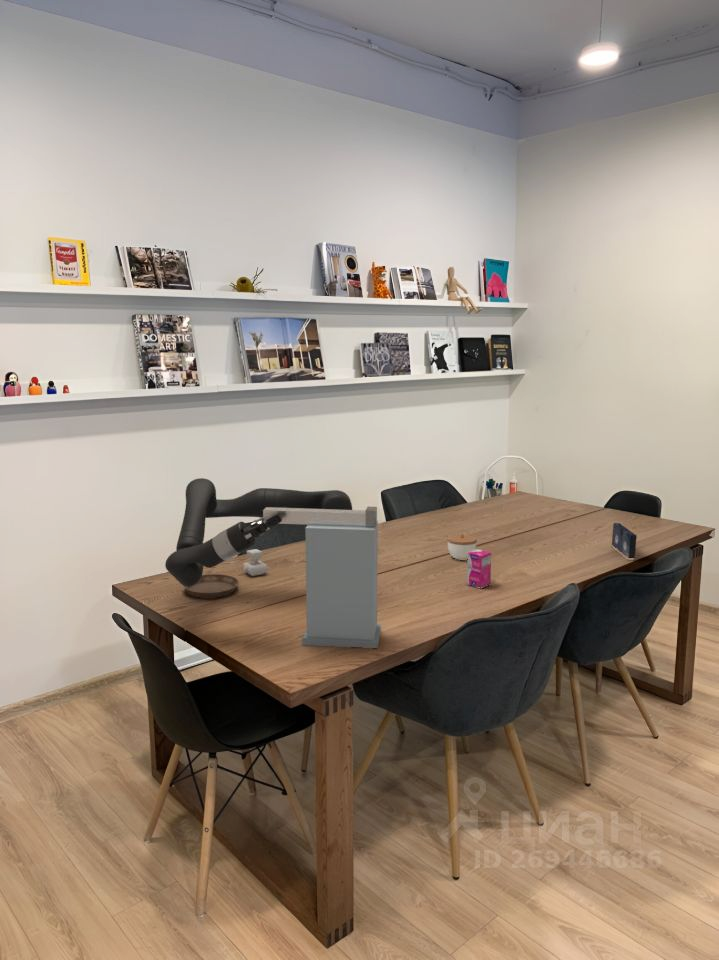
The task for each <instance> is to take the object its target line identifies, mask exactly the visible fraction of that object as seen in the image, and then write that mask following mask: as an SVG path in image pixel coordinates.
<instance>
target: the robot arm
mask: <svg viewBox="0 0 719 960" xmlns="http://www.w3.org/2000/svg"><path fill="white" fill-rule="evenodd" d="M266 507H274V508H304V509H334V510H353V505H352V501H351V498H350V496H349V495H348V494H347V493H346V492H344V491H342V490H339V489H334V490H318V491H317V490H315V491H304V490H296V489H283V488H270V487H269V488H268V487H267V488H266V487H264V488H263V487H262V488H255V489H253V490H251V491H249V492H247V493H245V494H242V495H240V496H238V497H235V498H229V499H217V490H216V486H215V484H214V483H213V482H212V481H211V480H210V479H207V478H202V477H201V478H194V479H192V480H191V481H190V482H189V483H188V484H187V486H186V487H185V509H184V515H183V519H182V524H181V527H180V532H179V535H178V539H177V543H176V546H175V547H176V548H175V549H176V550H175V551H174V552H172V553H170V555H168V557H167V558H166V560H165V566H164V567H165V569H166V571H167V572H168V573H169V574H170V575H171V576H172V577H173V579H174V578H175V580H176V581H177V582H178V583H179V584H180V585H182V586H183V587H184V586H186V587H190V586H193V585H195V584H196V583H197V582H198V581H199V580H200V578H201V576H202V575H203V572H204V567H205V568H208V569H211V568H214V567H216V566H218V565H220V564H221V563H224V562H225V561H227V560H229V559H232V558H235V557H236V556H238V555H240V554H241V553H243V552H246V551H248V550H250V549H251V548H252V547H254V546H255V544H256V540H255V539H256V538H258V537H260V536H262V535H265V533H267V531H270V529H271V528H272V527H274V526H276V525H279V524H278V523H280V522H281V521H282V518H281V517H280V515H279V514H276V515H275V516H273V517H271V518H269V519H267V520H265V521H263V510H264V509H265V508H266ZM228 517H229V518H232V517H233V518H234V517H237V518H239V517H240V518H241V517H243V518H244V517H245V518H247V517H248V518H258V519H255V520H253V521H251V522H250V523H249V524H247V523H245V522H244V521H239V522H237V523H235V524H234V525H232V526H230V527H228V528H226V529H225V530H222V531H221V532H219V533H218V534H217V535H215V536H214V537H212V538H210V539H209V540H207V541H205V542H204V540H205V530H206V519H211V518H213V519H214V518H228ZM266 521H267V522H266Z"/></svg>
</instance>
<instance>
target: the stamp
mask: <svg viewBox="0 0 719 960" xmlns="http://www.w3.org/2000/svg"><path fill="white" fill-rule="evenodd" d="M246 555H247V557H248V558H249V559H251V561H247V562H243V564H242V568H243V570H242V571H243V572H244V573H246V574H248V575H250V576H252V577H255V576H262V575H264V574H265V572H267V570H268V569H269V567H268V565H267V563H264V562H262V561H260V560H259V559H260V558H262V557H263V551H261V550H259V549H257V548H255V549H254V548H253V549H247V550H246Z"/></svg>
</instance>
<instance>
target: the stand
mask: <svg viewBox="0 0 719 960" xmlns="http://www.w3.org/2000/svg"><path fill="white" fill-rule="evenodd" d="M378 526H379V521H378V520H377V524H376V526H375V527H362V526H334V525H306V527H305V528H304V529H305V583H306V584H305V595H306V596H305V600H306V604H305V605H306V608H305V610H306V614H305V615H306V630H305V632H304V634H303V636H302V638H301V639H302V640H301V641H302V646H310V647H311V646H312V647H313V646H315V647H331V646H334V647H333V648H337V647H338V648H351V647H362V648H361V649H372V648H377V649H378V648H379V647H378V646H379V641H380V638H379V637H381V632H382V624H380V623H379V624H378V563H379V562H378V559H379V557H378V545H379V541H378V539H379V538H378V537H379V536H378V535H379V527H378Z"/></svg>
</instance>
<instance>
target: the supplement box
mask: <svg viewBox="0 0 719 960" xmlns="http://www.w3.org/2000/svg"><path fill="white" fill-rule="evenodd" d="M466 564H467V566H466V567H467V569H466V573H467V574H466V585H467V584H469V585H472V586H471V587H473V586H477V587H480V588H481V587H484V586H486V585H489V584H490V585H491V574H492V552H490V551H486V550H482V549H480V548H479V549H478V548H476V549H475V550H474V551H471V552H468V560H467V563H466ZM469 585H468V586H469ZM484 588H485V587H484Z"/></svg>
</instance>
